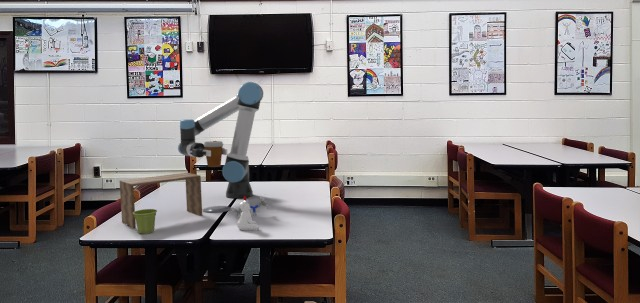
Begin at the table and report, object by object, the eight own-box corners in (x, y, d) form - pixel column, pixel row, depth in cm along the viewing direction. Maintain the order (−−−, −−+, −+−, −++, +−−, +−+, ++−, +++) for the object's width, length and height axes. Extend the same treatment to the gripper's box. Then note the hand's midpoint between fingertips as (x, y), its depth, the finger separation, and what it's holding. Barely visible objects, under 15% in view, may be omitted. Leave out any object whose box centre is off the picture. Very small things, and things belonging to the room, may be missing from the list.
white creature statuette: (260, 230, 189) (259, 201, 188) (239, 232, 186) (238, 203, 185) (255, 225, 198) (254, 197, 196) (235, 227, 195) (234, 199, 194)
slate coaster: (231, 205, 237) (231, 205, 237) (231, 211, 224) (231, 211, 224) (203, 207, 235) (203, 206, 235) (201, 213, 221) (201, 213, 221)
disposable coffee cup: (219, 167, 221) (218, 142, 220) (200, 167, 223) (200, 142, 222) (227, 165, 231) (226, 141, 230) (209, 164, 233) (208, 141, 231)
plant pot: (136, 236, 183) (135, 215, 182) (131, 231, 191) (130, 210, 190) (160, 232, 188) (159, 212, 187) (155, 227, 196) (154, 207, 195)
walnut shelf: (122, 222, 206) (119, 180, 204) (188, 210, 227) (187, 172, 226) (133, 228, 196) (130, 184, 194) (202, 215, 217) (200, 175, 215)
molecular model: (268, 213, 220) (264, 192, 220) (272, 213, 212) (268, 191, 212) (231, 220, 214) (227, 199, 215) (233, 220, 206) (230, 198, 207)
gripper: (215, 155, 247) (237, 158, 230) (177, 158, 233) (198, 162, 216) (214, 141, 246) (237, 143, 229) (177, 143, 232) (198, 146, 216)
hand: (218, 152), depth 223 cm, fingers closed on disposable coffee cup, 8 cm apart
